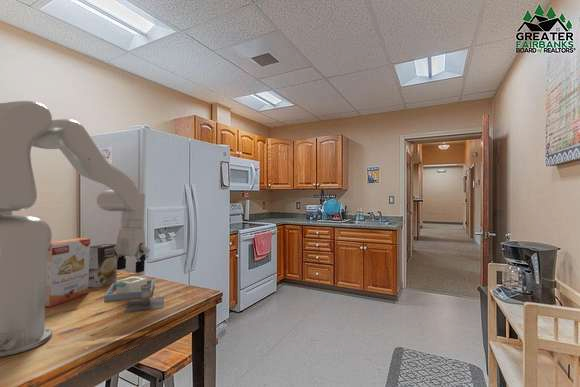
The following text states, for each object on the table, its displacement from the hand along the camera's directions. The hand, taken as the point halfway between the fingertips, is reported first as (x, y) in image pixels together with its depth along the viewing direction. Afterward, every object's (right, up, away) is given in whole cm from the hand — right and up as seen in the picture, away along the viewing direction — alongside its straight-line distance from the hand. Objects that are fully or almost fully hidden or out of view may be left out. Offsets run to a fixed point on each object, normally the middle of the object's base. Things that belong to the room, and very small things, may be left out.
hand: (130, 270), depth 103 cm
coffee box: (-19, -9, +13) cm, 25 cm away
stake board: (+11, -9, -11) cm, 18 cm away
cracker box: (-20, -9, -5) cm, 23 cm away
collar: (0, -9, +1) cm, 9 cm away
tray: (0, -9, 0) cm, 9 cm away
